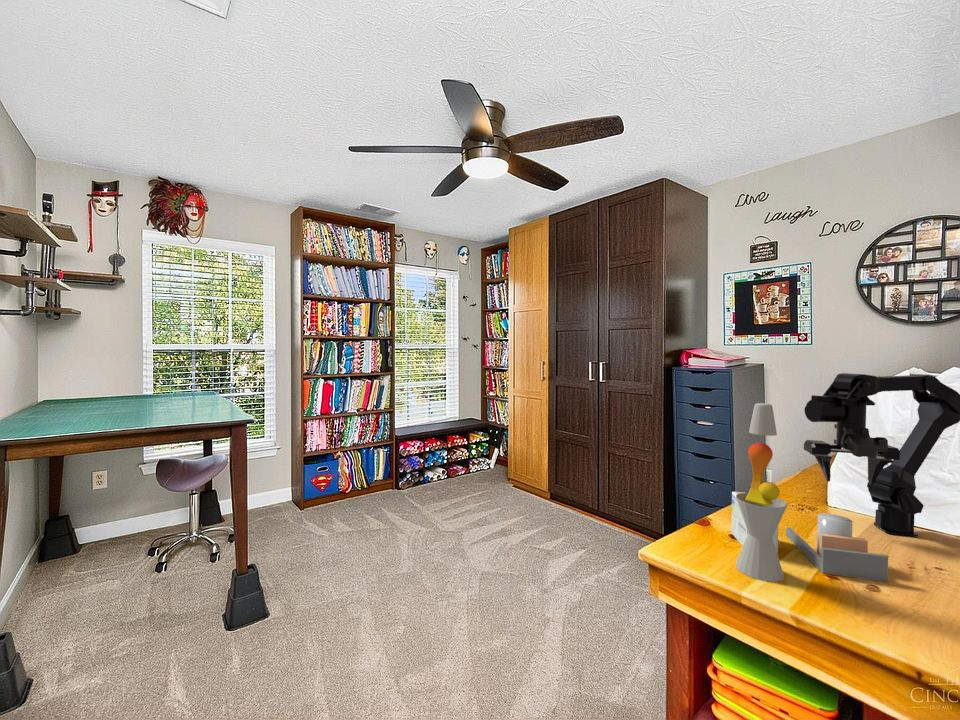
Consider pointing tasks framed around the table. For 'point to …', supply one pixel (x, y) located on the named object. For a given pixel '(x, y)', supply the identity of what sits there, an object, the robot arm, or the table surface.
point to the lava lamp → (761, 506)
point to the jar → (833, 526)
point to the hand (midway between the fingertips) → (849, 482)
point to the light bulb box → (743, 524)
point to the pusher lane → (844, 560)
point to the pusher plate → (843, 543)
